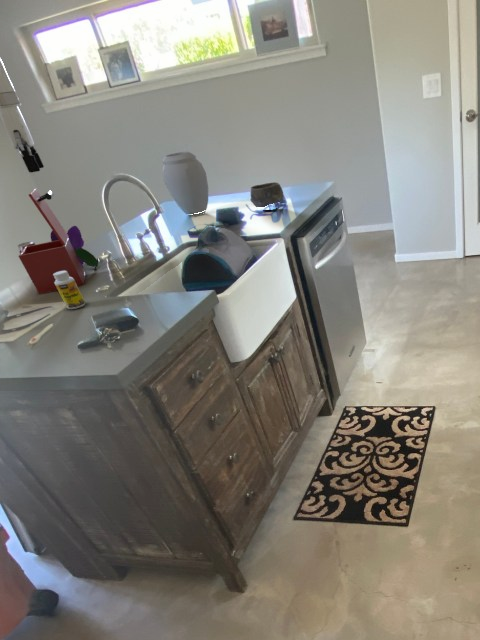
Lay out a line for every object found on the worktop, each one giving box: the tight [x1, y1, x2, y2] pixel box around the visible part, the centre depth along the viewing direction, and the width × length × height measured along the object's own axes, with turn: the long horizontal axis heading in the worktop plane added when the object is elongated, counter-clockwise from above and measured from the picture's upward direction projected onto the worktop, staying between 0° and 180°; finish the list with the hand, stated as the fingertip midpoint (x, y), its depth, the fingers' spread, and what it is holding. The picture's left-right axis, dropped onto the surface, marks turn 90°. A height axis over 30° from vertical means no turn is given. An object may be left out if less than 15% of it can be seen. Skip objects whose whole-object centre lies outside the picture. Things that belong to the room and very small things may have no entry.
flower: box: [50, 225, 99, 269], centre depth 193 cm, size 15×15×14 cm
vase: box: [161, 151, 209, 217], centre depth 241 cm, size 20×20×24 cm
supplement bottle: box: [53, 271, 86, 310], centre depth 159 cm, size 6×6×10 cm
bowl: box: [249, 181, 285, 208], centre depth 234 cm, size 14×15×10 cm
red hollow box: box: [18, 238, 86, 295], centre depth 180 cm, size 15×14×12 cm
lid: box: [28, 187, 68, 245], centre depth 172 cm, size 15×14×5 cm
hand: (37, 169), depth 163 cm, fingers open, 9 cm apart
